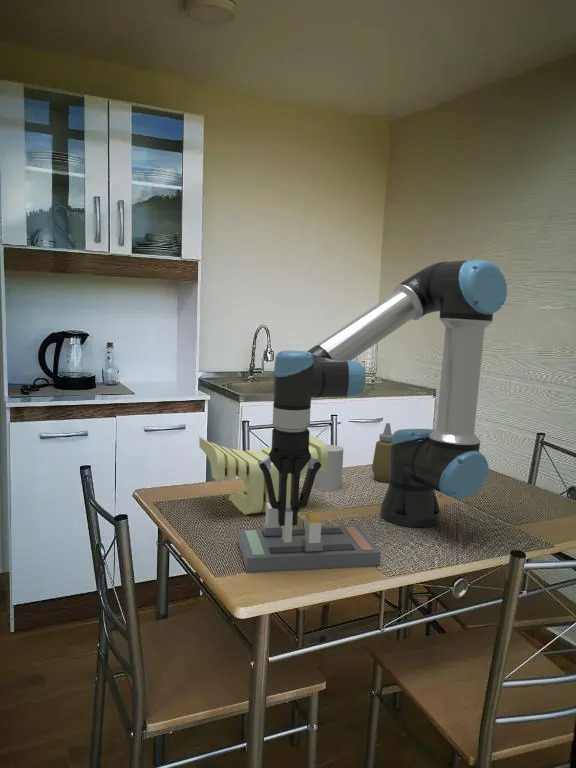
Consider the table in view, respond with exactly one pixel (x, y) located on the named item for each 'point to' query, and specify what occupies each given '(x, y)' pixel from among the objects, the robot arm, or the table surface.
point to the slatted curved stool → (254, 472)
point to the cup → (331, 471)
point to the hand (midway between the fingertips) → (286, 539)
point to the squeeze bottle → (383, 456)
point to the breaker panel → (273, 554)
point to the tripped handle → (312, 533)
